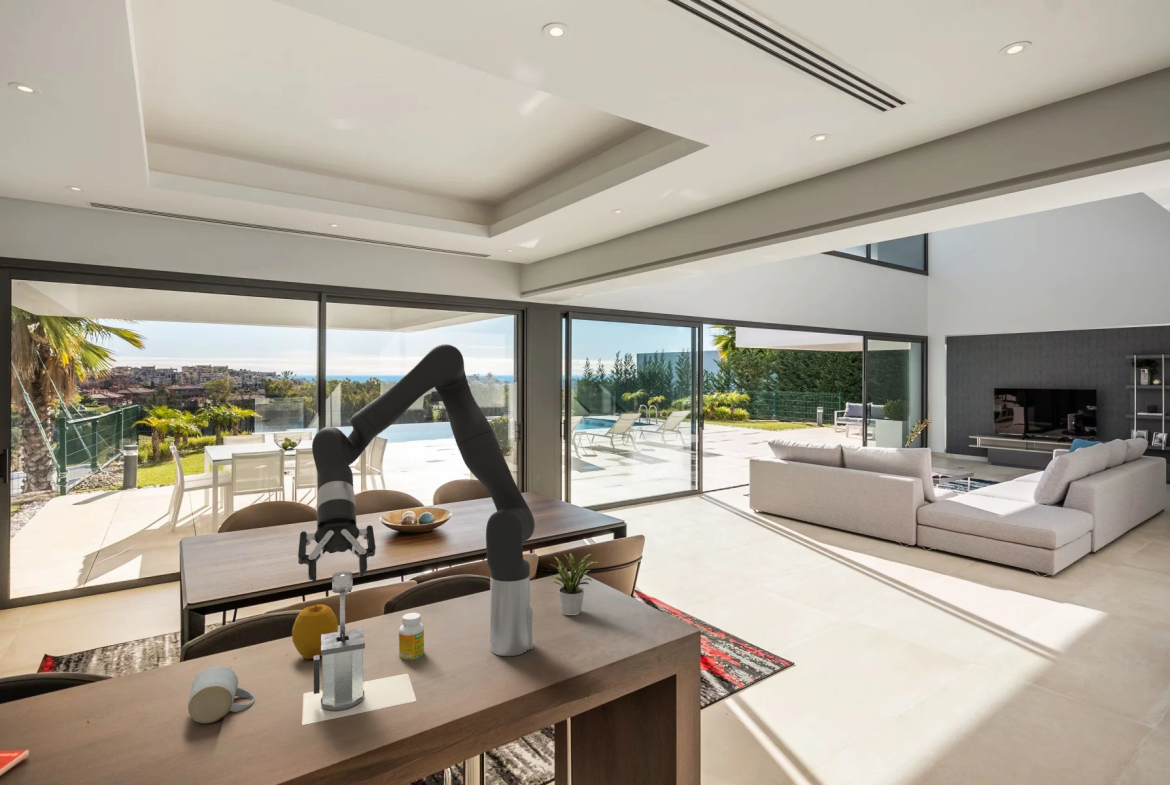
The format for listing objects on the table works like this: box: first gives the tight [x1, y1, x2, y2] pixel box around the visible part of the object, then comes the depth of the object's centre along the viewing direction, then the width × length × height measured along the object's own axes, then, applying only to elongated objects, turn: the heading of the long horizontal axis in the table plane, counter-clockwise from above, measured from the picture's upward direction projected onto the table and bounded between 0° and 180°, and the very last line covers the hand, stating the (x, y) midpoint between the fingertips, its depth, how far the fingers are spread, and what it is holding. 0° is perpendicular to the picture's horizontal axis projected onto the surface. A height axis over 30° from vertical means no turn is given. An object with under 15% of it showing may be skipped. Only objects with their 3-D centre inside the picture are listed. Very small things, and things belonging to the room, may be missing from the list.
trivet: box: [301, 672, 417, 726], centre depth 116 cm, size 20×12×1 cm, turn 114°
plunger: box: [331, 570, 353, 641], centre depth 115 cm, size 5×5×14 cm
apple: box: [291, 603, 339, 660], centre depth 136 cm, size 10×10×12 cm
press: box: [313, 627, 366, 711], centre depth 115 cm, size 9×8×12 cm
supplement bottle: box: [398, 612, 425, 661], centre depth 135 cm, size 5×5×10 cm
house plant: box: [550, 552, 598, 614], centre depth 162 cm, size 14×14×16 cm
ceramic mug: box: [187, 665, 256, 725], centre depth 113 cm, size 11×8×8 cm
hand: (338, 577), depth 116 cm, fingers open, 8 cm apart
